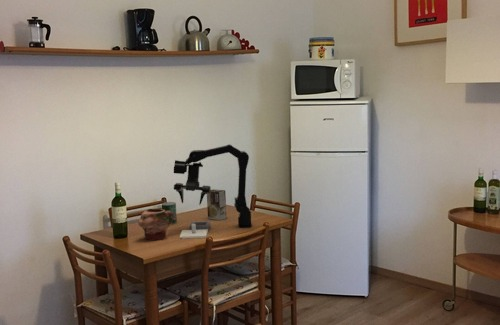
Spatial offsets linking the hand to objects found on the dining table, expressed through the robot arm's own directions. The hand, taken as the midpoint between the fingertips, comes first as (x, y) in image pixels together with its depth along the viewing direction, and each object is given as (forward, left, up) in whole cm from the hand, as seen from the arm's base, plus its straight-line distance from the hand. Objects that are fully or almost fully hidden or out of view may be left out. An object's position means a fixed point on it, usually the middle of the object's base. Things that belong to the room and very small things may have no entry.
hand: (191, 204), depth 289 cm
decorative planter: (+16, +15, -13) cm, 26 cm away
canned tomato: (+14, -15, -13) cm, 24 cm away
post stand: (-2, +13, -13) cm, 19 cm away
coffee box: (-12, -22, -13) cm, 28 cm away
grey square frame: (-4, 0, -13) cm, 14 cm away
